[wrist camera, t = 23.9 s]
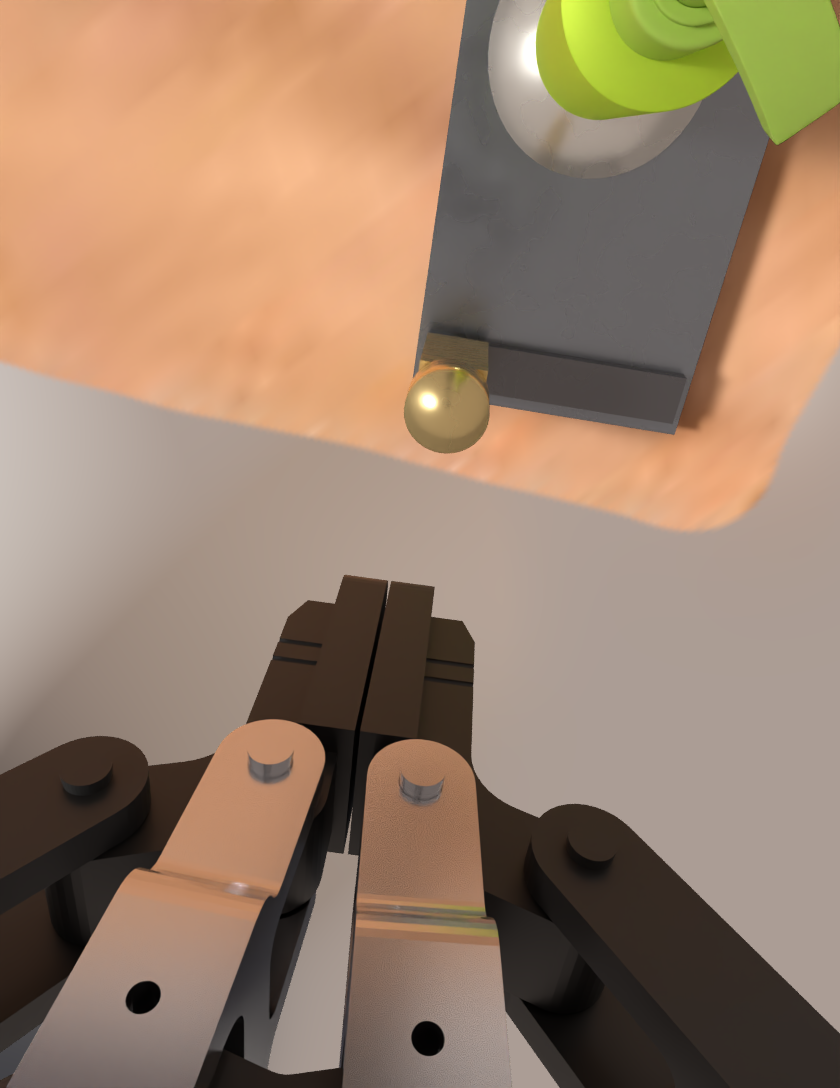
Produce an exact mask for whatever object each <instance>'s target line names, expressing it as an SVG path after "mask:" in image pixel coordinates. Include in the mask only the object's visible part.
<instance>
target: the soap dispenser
mask: <svg viewBox="0 0 840 1088" xmlns="http://www.w3.org/2000/svg"><path fill="white" fill-rule="evenodd" d="M535 53H536V62H537V67H538V71H539V74H540V77H541V80H542V82H543V84H544V86H545V88H546V90H547V91H548V93H549V94H550V96H551V97H552V98H553V99H554V100H555V101H556V102H557V103H558V104H559V105H560V106H561V107H562V108H563V109H565V110H566V111H568V112H570V113H571V114H573V115H576V116H578V117H581V118H585V119H590V120H607V119H614V118H622V117H629V116H637V115H644V114H652V113H660V112H667V111H673V110H677V109H681V108H684V107H687V106H690V105H692V104H695V103H697V102H699V101H701V100H703V99H705V98H706V97H708V96H710V95H711V94H713V93H714V92H716V91H717V90H718V89H720V88H721V87H722V86H724V85H725V84H726V83H727V82H728V81H729V80H730V79H732V78H733V77H734V76H735V75H736V74H737V72H739V74H740V76H741V78H742V81H743V83H744V85H745V87H746V90H747V92H748V94H749V97H750V99H751V101H752V104H753V106H754V109H755V111H756V113H757V116H758V118H759V121H760V123H761V125H762V128H763V129H764V131H765V132H766V134H767V135H768V136H769V137H770V138H771V140H772V141H773V142H774V143H775V144H776V145H779V144H781V143H783V142H784V141H786V140H787V139H789V138H790V137H792V136H793V135H795V134H796V133H797V132H799V131H800V130H802V129H803V128H805V127H806V126H808V125H809V124H811V123H812V122H813V121H815V120H816V119H818V118H819V117H821V116H822V115H824V114H825V113H826V112H828V111H829V110H831V109H832V108H834V107H835V106H836V105H838V104H839V103H840V26H839V23H838V20H837V17H836V14H835V12H834V9H833V6H832V3H831V1H830V0H546V3H545V5H544V7H543V10H542V12H541V15H540V18H539V22H538V26H537V31H536V40H535Z"/></svg>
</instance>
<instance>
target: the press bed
mask: <svg viewBox="0 0 840 1088" xmlns="http://www.w3.org/2000/svg"><path fill="white" fill-rule="evenodd" d="M545 3H546V0H467V1H466V8H465V15H464V22H463V29H462V36H461V43H460V50H459V58H458V65H457V72H456V79H455V86H454V93H453V100H452V107H451V114H450V121H449V128H448V135H447V142H446V149H445V156H444V163H443V170H442V177H441V184H440V191H439V198H438V205H437V212H436V219H435V226H434V233H433V240H432V248H431V255H430V262H429V269H428V276H427V283H426V290H425V297H424V304H423V311H422V318H421V325H420V332H419V339H418V346H417V353H416V360H415V367H414V374H413V378H414V376H415V375H416V374H417V372H418V371H419V364H420V358H421V355H422V351H423V348H424V344H425V341H426V337H427V333H428V332H429V333H435V334H442V335H448V336H454V337H460V338H466V339H472V340H478V341H484V342H488V375H487V381H486V383H487V386H488V389H489V405H495V406H501V407H508V408H514V409H520V410H526V411H532V412H538V413H544V414H550V415H557V416H563V417H569V418H575V419H581V420H587V421H593V422H600V423H606V424H612V425H618V426H624V427H630V428H636V429H642V430H649V431H655V432H661V433H667V434H673V435H674V434H675V431H676V428H677V425H678V422H679V419H680V415H681V412H682V409H683V406H684V403H685V400H686V397H687V394H688V390H689V387H690V384H691V381H692V378H693V375H694V372H695V369H696V365H697V362H698V359H699V356H700V353H701V350H702V347H703V344H704V340H705V337H706V334H707V331H708V328H709V325H710V322H711V319H712V315H713V312H714V309H715V306H716V303H717V300H718V297H719V294H720V290H721V287H722V284H723V281H724V278H725V275H726V272H727V269H728V265H729V262H730V259H731V256H732V253H733V250H734V247H735V244H736V240H737V237H738V234H739V231H740V228H741V225H742V222H743V219H744V215H745V212H746V209H747V206H748V203H749V200H750V197H751V194H752V190H753V187H754V184H755V181H756V178H757V175H758V172H759V169H760V165H761V162H762V159H763V156H764V153H765V150H766V147H767V144H768V140H769V136H768V135H767V134H766V132H765V131H764V129H763V128H762V125H761V123H760V121H759V118H758V116H757V113H756V111H755V109H754V106H753V104H752V101H751V99H750V97H749V94H748V92H747V90H746V87H745V85H744V83H743V81H742V78H741V76H740V74H739V72H737V74H736V75H735V76H734V77H733V78H732V79H730V80H729V81H728V82H727V83H726V84H725V85H724V86H722V87H721V88H720V89H718V90H717V91H716V92H714V93H713V94H711V95H710V96H708V97H706V98H705V99H703V100H701V101H699V102H697V103H695V104H692V105H690V106H687V107H684V108H681V109H677V110H673V111H667V112H660V113H652V114H644V115H637V116H629V117H622V118H614V119H607V120H590V119H585V118H581V117H578V116H576V115H573V114H571V113H570V112H568V111H566V110H565V109H563V108H562V107H561V106H560V105H559V104H558V103H557V102H556V101H555V100H554V99H553V98H552V97H551V96H550V94H549V93H548V91H547V90H546V88H545V86H544V84H543V82H542V80H541V77H540V74H539V71H538V67H537V62H536V53H535V40H536V31H537V26H538V22H539V18H540V15H541V12H542V10H543V7H544V5H545Z"/></svg>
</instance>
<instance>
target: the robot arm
mask: <svg viewBox="0 0 840 1088" xmlns="http://www.w3.org/2000/svg"><path fill="white" fill-rule="evenodd" d="M387 590H388V581H387V580H379V579H372V578H364V577H357V576H350V575H344V577H343V580H342V583H341V586H340V589H339V593H338V596H337V599H336V602H335V604H332V603H324V602H317V601H310V600H308V601H307V602H305V603H304V604H303V605H302V606H301V607H299V608H298V609H297V610H296V611H295V612H294V613H292V614H291V615H290V616H289V617H288V619H287V621H286V624H285V626H284V629H283V631H282V634H281V637H280V641H279V642H278V644H277V647H276V649H275V652H274V654H273V659H272V660H271V662H270V664H269V667H268V670H267V672H266V675H265V677H264V680H263V682H262V685H261V687H260V690H259V693H258V695H257V698H256V700H255V703H254V705H253V708H252V710H251V713H250V715H249V718H248V721H247V723H246V725H243V726H241V727H239V728H237V729H236V730H234V731H233V732H231V733H230V734H229V735H228V736H227V737H226V738H225V739H224V740H223V741H222V742H221V744H220V745H219V747H218V749H217V750H216V752H215V753H214V754H212V755H209V756H207V757H204V758H201V759H197V760H193V761H186V762H178V763H170V764H161V765H152V766H148V762H147V760H146V758H145V755H144V754H143V753H142V751H141V750H140V749H139V748H137V747H136V746H135V745H134V744H132V743H130V742H128V741H126V740H123V739H119V738H115V737H108V736H95V737H86V738H81V739H77V740H74V741H70V742H68V743H65V744H63V745H61V746H58V747H57V748H54V749H52V750H50V751H48V752H46V753H44V754H42V755H40V756H38V757H36V758H34V759H32V760H30V761H28V762H26V763H23V764H21V765H20V766H17V767H15V768H13V769H11V770H9V771H7V772H5V773H3V774H1V775H0V1052H2V1051H3V1050H5V1049H6V1048H8V1047H9V1046H10V1045H12V1044H13V1043H14V1042H16V1041H17V1040H19V1039H20V1038H21V1037H23V1036H24V1035H26V1034H27V1033H28V1032H30V1031H31V1030H33V1029H34V1028H35V1027H37V1026H38V1025H40V1024H41V1023H42V1022H43V1023H42V1025H41V1027H40V1029H39V1030H38V1032H37V1034H36V1036H35V1037H34V1039H33V1041H32V1043H31V1044H30V1046H29V1048H28V1050H27V1052H26V1053H25V1055H24V1057H23V1058H22V1060H21V1062H20V1064H19V1066H18V1067H17V1069H16V1071H15V1073H14V1074H12V1075H10V1076H8V1077H6V1078H4V1079H2V1080H0V1088H512V1081H511V1070H510V1058H509V1047H508V1036H507V1024H506V1013H505V1011H506V1012H507V1014H508V1015H509V1017H510V1018H511V1019H512V1021H513V1022H514V1024H515V1025H516V1027H517V1028H518V1029H519V1031H520V1032H521V1034H522V1035H523V1036H524V1038H525V1039H526V1040H527V1042H528V1043H529V1045H530V1046H531V1048H532V1049H533V1050H534V1052H535V1053H536V1055H537V1056H538V1058H539V1059H540V1060H541V1062H542V1063H543V1065H544V1066H545V1067H546V1069H547V1070H548V1072H549V1073H550V1075H551V1076H552V1077H553V1079H554V1080H555V1081H556V1083H557V1084H558V1086H559V1087H560V1088H840V1033H839V1032H838V1031H837V1030H836V1029H834V1028H833V1027H832V1026H831V1025H830V1024H829V1023H828V1022H827V1021H826V1020H825V1019H824V1018H823V1017H822V1016H821V1015H820V1014H819V1013H818V1012H817V1011H816V1010H815V1009H814V1008H813V1007H812V1006H811V1005H810V1004H809V1003H808V1002H807V1001H806V1000H805V999H804V998H803V997H802V996H801V995H800V994H799V993H798V992H797V991H796V990H795V989H794V988H793V987H792V986H791V985H790V984H789V983H788V982H787V981H786V980H785V979H784V978H782V976H781V975H779V974H778V973H777V972H776V971H775V970H774V969H773V968H772V967H771V966H770V965H769V964H768V963H767V962H766V961H765V960H764V959H763V958H762V957H761V956H760V955H759V954H758V953H757V952H756V951H755V950H754V949H753V948H752V947H751V946H750V945H749V944H748V943H747V942H746V941H745V940H744V939H743V938H742V937H741V936H740V935H739V934H738V933H736V932H735V930H734V929H733V928H732V927H731V926H729V924H728V923H726V922H725V921H724V920H723V919H722V918H721V917H720V916H719V915H718V914H717V913H716V912H715V911H714V910H713V909H712V908H711V907H710V906H709V905H708V904H707V903H706V902H705V901H704V900H703V899H702V898H701V897H700V896H699V895H698V894H697V893H696V892H695V891H694V890H693V889H692V888H691V887H690V886H689V885H688V884H687V883H686V882H685V881H684V880H683V879H681V877H680V876H679V875H677V873H676V872H675V871H673V870H672V869H671V868H670V867H669V866H668V865H667V864H666V863H665V862H664V861H663V860H662V859H661V858H660V857H659V856H658V855H657V854H656V853H655V852H654V851H653V850H652V849H651V848H650V847H649V846H648V845H647V844H646V843H645V842H644V841H643V840H642V839H641V838H640V837H639V836H638V835H637V834H636V833H635V832H634V831H633V830H632V829H631V828H630V827H629V826H627V825H626V824H625V823H624V822H623V821H621V820H620V819H618V818H617V817H615V816H614V815H612V814H610V813H608V812H606V811H604V810H601V809H599V808H596V807H592V806H588V805H581V804H567V805H561V806H557V807H555V808H552V809H550V810H549V811H547V812H545V813H544V814H543V815H542V816H541V817H540V818H538V817H535V816H533V815H530V814H528V813H526V812H523V811H521V810H519V809H516V808H514V807H512V806H510V805H508V804H506V803H504V802H503V801H501V800H500V799H498V798H497V797H495V796H494V795H493V794H492V793H490V792H489V791H488V790H487V789H486V787H485V786H484V785H483V784H482V783H481V781H480V780H479V779H478V777H477V775H476V773H475V771H474V768H473V765H472V760H471V744H472V743H471V742H472V711H473V677H474V669H473V668H474V645H475V642H474V640H473V639H472V637H471V635H470V633H469V632H468V630H467V628H466V626H465V625H464V623H463V622H462V621H457V620H450V619H442V618H435V617H431V613H432V605H433V596H434V587H432V586H425V585H417V584H410V583H402V582H395V581H391V585H390V590H389V595H388V599H387ZM386 600H387V604H386ZM352 808H353V810H352ZM351 813H352V821H351V831H350V841H349V851H348V854H351V855H358V856H359V857H358V868H357V877H356V886H355V894H354V903H353V913H352V926H351V937H350V948H349V960H348V971H347V982H346V994H345V1006H344V1018H343V1028H342V1040H341V1051H340V1062H339V1068H335V1069H328V1070H321V1071H314V1072H306V1073H299V1074H292V1075H283V1074H278V1073H275V1072H271V1071H270V1070H268V1064H269V1058H270V1053H271V1048H272V1044H273V1039H274V1036H275V1032H276V1029H277V1025H278V1022H279V1019H280V1015H281V1012H282V1009H283V1006H284V1002H285V999H286V996H287V992H288V989H289V986H290V983H291V980H292V976H293V973H294V970H295V966H296V963H297V960H298V957H299V953H300V950H301V947H302V944H303V940H304V937H305V934H306V931H307V927H308V924H309V921H310V918H311V914H312V911H313V908H314V904H315V899H316V890H317V888H318V886H319V884H320V881H321V878H322V873H323V868H324V863H325V859H326V854H327V851H328V852H335V853H342V854H343V853H344V848H345V843H346V838H347V833H348V828H349V823H350V818H351Z"/></svg>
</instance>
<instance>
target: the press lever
mask: <svg viewBox="0 0 840 1088" xmlns="http://www.w3.org/2000/svg"><path fill="white" fill-rule="evenodd" d="M487 375H488V342H484V341H478V340H472V339H466V338H460V337H454V336H448V335H442V334H435V333H429V332H428V333H427V337H426V341H425V344H424V348H423V351H422V355H421V358H420V364H419V371H418V372H417V374H416V375H415V376H414V378H413V380H412V382H411V384H410V387H409V391H408V394H407V398H406V401H405V406H404V418H405V423H406V426H407V428H408V430H409V432H410V434H411V435H412V437H413V438H414V439H415V440H416V441H417V442H418V443H419V444H421V445H422V446H423V447H425V448H427V449H429V450H432V451H434V452H439V453H456V452H460V451H463V450H465V449H467V448H469V447H471V446H472V445H474V444H475V443H476V442H477V441H478V440H479V439H480V438H481V437H482V435H483V434H484V432H485V430H486V428H487V425H488V421H489V389H488V386H487V383H486V381H487Z"/></svg>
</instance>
